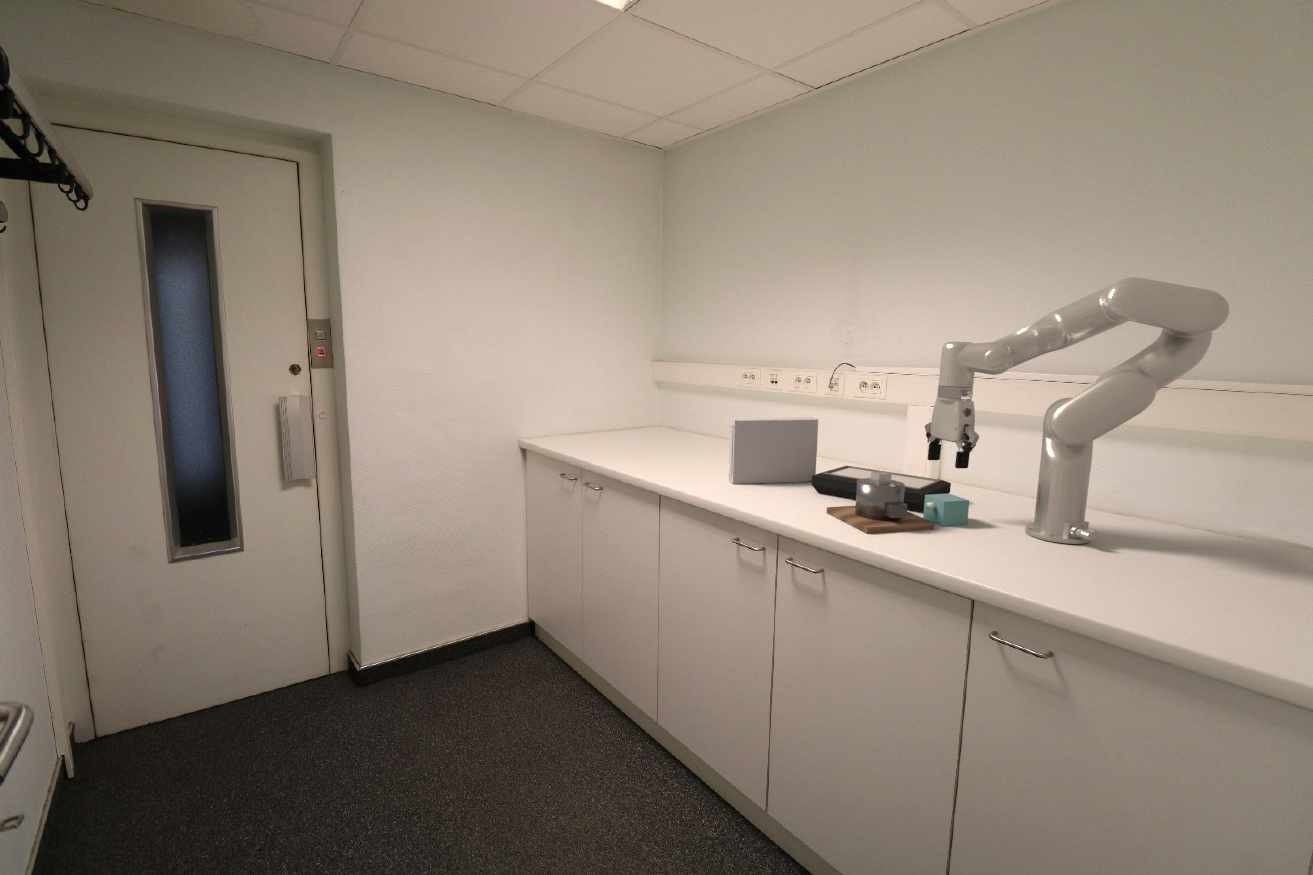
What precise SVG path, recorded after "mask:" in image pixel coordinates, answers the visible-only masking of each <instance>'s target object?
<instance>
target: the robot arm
mask: <svg viewBox="0 0 1313 875" xmlns="http://www.w3.org/2000/svg"><path fill="white" fill-rule="evenodd" d="M1229 315H1230V305H1229V303H1228V300H1227V299H1226V298H1225V297H1224V296H1223V295H1222V294H1221V293H1219V292H1216V291H1213V290H1210V289H1207V288H1200V287H1193V286H1189V285H1183V284H1176V283H1171V282H1170V283H1169V282H1165V281H1160V280H1154V279H1149V278H1145V277H1135V276H1134V277H1125V278H1123V279H1120V280H1118V281H1116V282H1115V283H1113V284H1110V285H1108V286H1105V287H1104V288H1101V289H1099V290H1097V291H1095V292H1093V293H1091V294H1088V295H1085V296H1084V297H1082V298H1080V299H1078V300H1075V301H1074V302H1071V303H1069V304H1066V305H1064V306H1062V307H1059V308H1057V309H1055V310H1053V311H1051V312H1049V313H1047V314H1046V315H1043V316H1042V317H1041V318H1040V319H1038V320H1036V321H1035V322H1033V323H1031V324H1029V325H1027V326H1025V327H1023V328H1020V329H1019V330H1016V331H1014V332H1012V333H1010V334H1008V335H1006V336H1004V337H1001V338H998V339H997V340H994V341H989V342H979V343H978V342H977V343H975V342H970V341H946V342H945V343H944V344H943V345H942V348H941V356H940V367H939V377H938V386H937V393H936V394H937V395H936V398H935V402H934V406H933V410H932V417H931V419H930V420H931V421H930V422H929V423H926V424H925V425H924V429H925V437H926V438H927V444H928V450H927V451H928V452H927V460H928V461H939V460H940V459H941V454H942V453H941V452H942V451H941V450H942V444H941V442H942V441H946V442H949V443H950V442H951V443H955V444H956V447H957V450H958V451H956V453H955V454H956V455H955V461H954V462H955V464H954V467H955V469H968V468H969V465H970V464H969V463H970V454H971V453H972V452H973V449H974V448H975V447H976V446H977V443H978V441H979V439H980V435H979V434H978V433H977V431H975V425H976V424H975V421H976V410H975V403H974V401H972V399H973V395H974V392H973V390H974V381H975V374H976V373H978V374H986V375H991V376H997V375H1002V374H1004V373H1005V372H1007V371H1009V370H1010V369H1012V368H1014V367H1017V366H1019V365H1022V364H1024V363H1025V362H1028V361H1030V360H1034V359H1035V358H1038V357H1041V356H1043V355H1046V354H1048V353H1052V352H1057V351H1060V350H1061V351H1062V350H1063V349H1066V348H1067V349H1068V348H1069V347H1071V346H1072V347H1073V346H1074V345H1076V344H1080V343H1081V342H1083V341H1086V340H1087V339H1091V338H1092V337H1095V336H1097V335H1100V334H1101V333H1105V332H1107V331H1110V330H1112V329H1114V328H1116V327H1118V326H1121V325H1123V324H1126V323H1128V322H1133V323H1138V324H1141V325H1146V326H1150V327H1154V328H1155V327H1156V328H1161V329H1162V330H1161V333H1160V334H1159V336H1158V338H1157V339H1156V340H1155V341H1154V342H1152V343H1150V345H1148V346H1147V347H1145V348H1143V349H1142V350H1141V351H1139V352H1138V353H1136V354H1135V355H1133V356H1131V357H1130V358H1128V359H1127V360H1125V361H1124V362H1122V363H1120V364H1118V365H1116V366H1115V367H1113V368H1111V369H1109V370H1107V371H1105V372H1104V373H1102V374H1101V375H1100V376H1099V377H1098V378H1097V379H1096V380H1095V382H1094V384H1093V383H1092V385H1091V386H1089V387H1087V388H1085V389H1084V390H1082V391H1081V392H1079V393H1078V394H1076V395H1075V396H1072V397H1063V398H1060V399H1058V400H1056V401H1054V402H1053V403H1052V404H1050V405H1049V407H1048V408H1047V409H1046V411H1045V413H1044V417H1043V424H1042V439H1041V453H1040V463H1039V469H1038V470H1039V471H1038V472H1039V473H1038V479H1037V480H1038V481H1037V491H1036V497H1035V498H1036V500H1035V507H1034V508H1035V510H1034V518H1033V523H1030V524H1027V525H1025V527H1024V529H1025V530H1024V531H1025V533H1026V534H1027V535H1029V536H1031V537H1034V538H1036V539H1039V540H1043V541H1046V542H1047V541H1048V542H1053V543H1056V544H1057V543H1059V544H1060V543H1061V544H1067V545H1068V544H1069V545H1082V544H1083V545H1084V544H1088V543H1090V542H1091V541H1093V540H1094V539H1095V538H1096V537H1098V535H1099V532H1098V531H1097V530H1094V529H1090V528H1089V526H1090V525H1089V524H1090V522H1089V521H1086V519H1085V518H1086V511H1087V510H1086V509H1087V503H1088V502H1087V501H1088V493H1089V486H1090V478H1091V477H1090V475H1091V472H1092V470H1091V469H1092V460H1093V448H1094V447H1093V446H1094V441H1095V440H1096V439H1098V438H1100V437H1102V436H1104V435H1106V434H1107V433H1109V432H1111V431H1113V430H1114V429H1116V428H1118V427H1120V426H1121V425H1123V424H1125V423H1126V422H1128V421H1130V420H1132V419H1133V418H1135V417H1136V416H1139V415H1140V414H1141V413H1143V412H1145V410H1147V408H1149V407H1150V406H1151V405H1152V403H1153V402H1154V401H1155V399H1156V395H1157V393H1158V391H1160V390H1163V389H1164V388H1166V387H1167V386H1169V385H1171V384H1172V383H1173V382H1175V381H1177V380H1178V379H1180V378H1181V377H1182V376H1184V375H1185V374H1187V373H1189V372H1190V371H1191V370H1192V369H1194V368H1195V367H1196V366H1198V364H1199V363H1200V362H1201V361H1202V360H1203V358H1204V357H1205V355H1206V353H1207V352H1208V351H1209V348H1210V345H1211V343H1212V339H1213V332H1214V331H1216V330H1218V329H1219V328H1221V327H1222V326H1223V324H1225V323H1226V322H1227V319H1228V317H1229Z"/></svg>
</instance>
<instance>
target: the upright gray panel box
mask: <svg viewBox="0 0 1313 875" xmlns="http://www.w3.org/2000/svg"><path fill="white" fill-rule="evenodd" d="M729 421H730V422H729V423H730V424H729V428H730V429H729V457H728V460H729V462H728V463H729V468H728V482H729V483H731V484H733V485H743V484H747V485H748V484H750V485H751V484H774V483H775V484H779V483H808V482H810V481H812V476H813V475H816V474H817V455H818V438H819V437H818V434H819V433H818V432H819V419H818V418H814V417H782V418H781V417H779V418H778V417H776V418H772V417H771V418H769V417H768V418H736V417H735V418H734V417H732V418H730V420H729Z"/></svg>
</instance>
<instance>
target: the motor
mask: <svg viewBox="0 0 1313 875" xmlns="http://www.w3.org/2000/svg"><path fill="white" fill-rule="evenodd" d="M884 471H885V470H879V471H877V472H871V478H864V479H859V480H857V490H856V500H855V505H854V506H855V514H856V515H858V516H860V517H863V518H866V519H871V520H878V521H895V520H900V519H902V517H907V512H908V510H907V506H908V505H907V504H905V503H904V490H905V484H904V483H902V482H899V481H895V480H891V477H892V474H890V473H887V472H888V471H886V472H884Z"/></svg>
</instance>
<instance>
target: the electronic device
mask: <svg viewBox="0 0 1313 875" xmlns="http://www.w3.org/2000/svg"><path fill="white" fill-rule="evenodd" d="M877 471H880V470H878V469H874V468H873V469H871V468H865V467H858V466H853V465H852V466H851V465H843V466H840V467H836V468H833V469H828V470H826V471H823V472H819V473H816V474H815V475H813V476H812V479H811V480H810V481H811V484H810V485H811V486H812V487H813V488H814V490H815V491H816V492H817V494H819V495H820V494H821V495H826V496H831V497H837V498H842V499H846V500H847V499H848V500H852V501H856V490H857V480H859V479H864V478H871V472H877ZM883 471H884V472H887V473H890V474H892V477H891V480H895V481H899V482H902V483H904V484H905V490H904V503H905V504H907V505H908V506H907V511H908V512H915V513H921V512H922V511H923V512H924V502H925V495H932V494H951V493H950V492H951V486H952V483H951V482H949V481H947V480H943V479H939V478H931V477H925V476H919V475H918V476H917V475H911V474H904V473H898V472H897V473H896V472H891V471H886V470H883Z"/></svg>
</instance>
